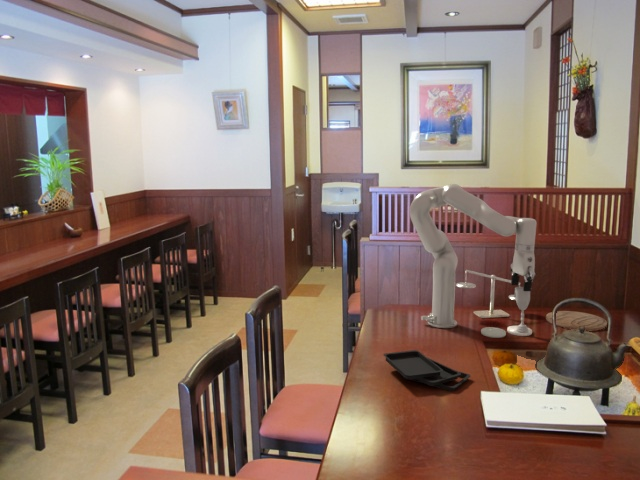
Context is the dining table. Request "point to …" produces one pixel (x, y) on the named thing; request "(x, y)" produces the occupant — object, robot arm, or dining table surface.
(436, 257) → the robot arm
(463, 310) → the dining table surface
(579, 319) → the trivet
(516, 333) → the dish right
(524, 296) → the chalice
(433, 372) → the tray
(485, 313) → the balance
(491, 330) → the dish left
